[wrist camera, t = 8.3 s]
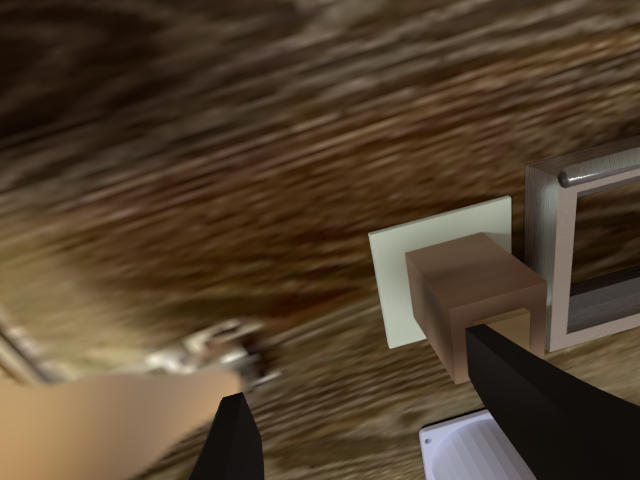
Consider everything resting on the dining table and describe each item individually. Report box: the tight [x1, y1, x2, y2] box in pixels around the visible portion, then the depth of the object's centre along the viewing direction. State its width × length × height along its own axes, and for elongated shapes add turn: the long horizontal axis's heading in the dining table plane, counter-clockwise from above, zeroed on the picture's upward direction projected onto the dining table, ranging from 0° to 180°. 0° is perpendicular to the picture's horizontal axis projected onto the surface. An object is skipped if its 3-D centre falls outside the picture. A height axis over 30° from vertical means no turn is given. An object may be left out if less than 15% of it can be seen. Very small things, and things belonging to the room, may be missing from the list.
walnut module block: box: [405, 232, 547, 384], centre depth 21 cm, size 4×4×6 cm
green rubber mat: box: [368, 196, 511, 349], centre depth 23 cm, size 8×8×1 cm
